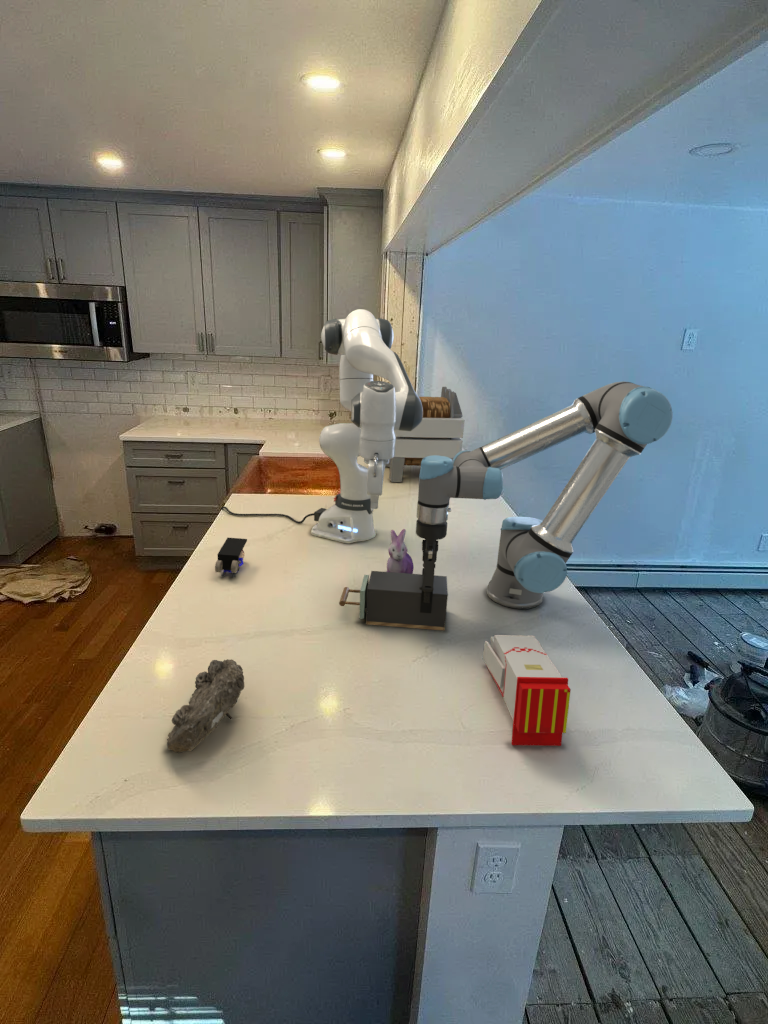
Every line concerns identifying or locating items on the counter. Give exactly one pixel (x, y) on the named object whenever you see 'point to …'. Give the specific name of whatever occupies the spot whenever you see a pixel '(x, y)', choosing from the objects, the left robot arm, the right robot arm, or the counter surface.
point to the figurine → (399, 555)
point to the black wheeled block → (230, 556)
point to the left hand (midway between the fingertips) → (375, 502)
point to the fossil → (206, 705)
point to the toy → (529, 689)
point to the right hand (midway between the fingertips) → (425, 601)
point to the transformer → (429, 434)
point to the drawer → (362, 597)
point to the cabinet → (404, 601)
